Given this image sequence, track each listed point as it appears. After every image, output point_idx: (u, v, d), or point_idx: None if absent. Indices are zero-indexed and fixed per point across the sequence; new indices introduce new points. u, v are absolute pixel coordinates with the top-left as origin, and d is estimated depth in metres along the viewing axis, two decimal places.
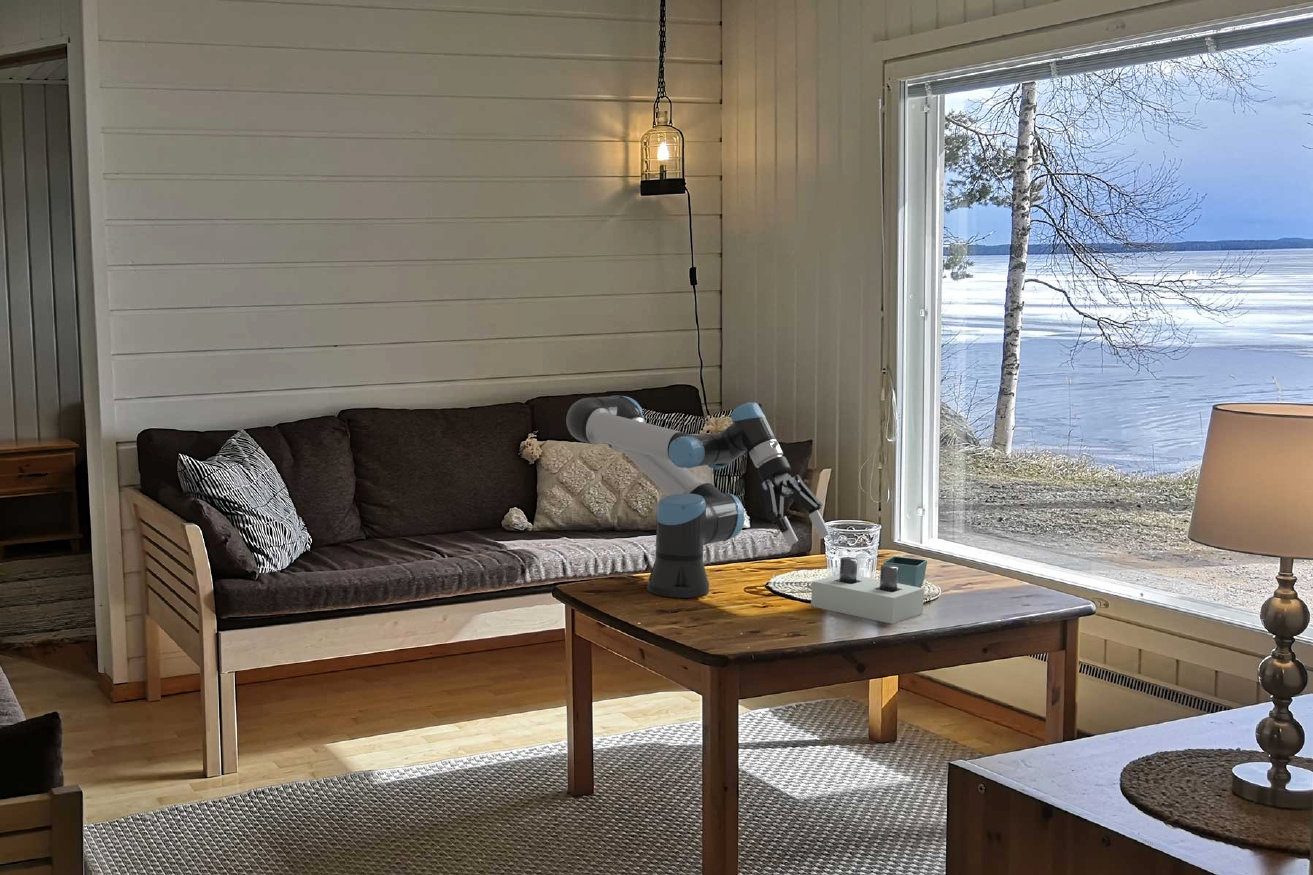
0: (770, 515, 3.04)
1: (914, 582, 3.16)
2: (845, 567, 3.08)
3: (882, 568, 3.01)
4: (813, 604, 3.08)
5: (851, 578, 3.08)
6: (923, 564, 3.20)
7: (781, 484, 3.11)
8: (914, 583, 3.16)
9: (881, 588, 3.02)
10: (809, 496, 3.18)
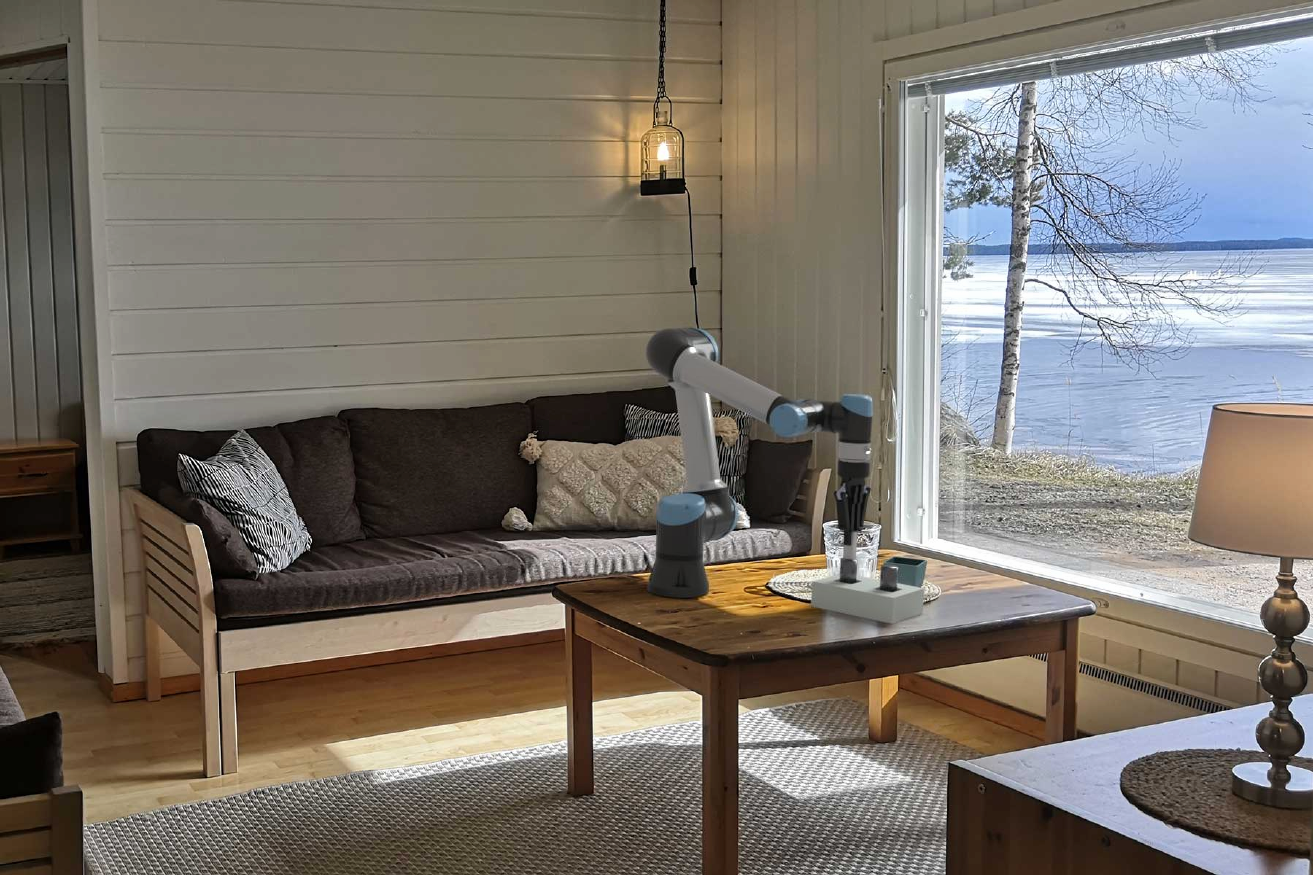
0: (842, 529, 3.06)
1: (914, 582, 3.16)
2: (845, 567, 3.08)
3: (882, 568, 3.01)
4: (813, 604, 3.08)
5: (851, 579, 3.08)
6: (923, 564, 3.20)
7: (853, 492, 3.05)
8: (914, 583, 3.16)
9: (881, 588, 3.02)
10: (861, 510, 3.10)
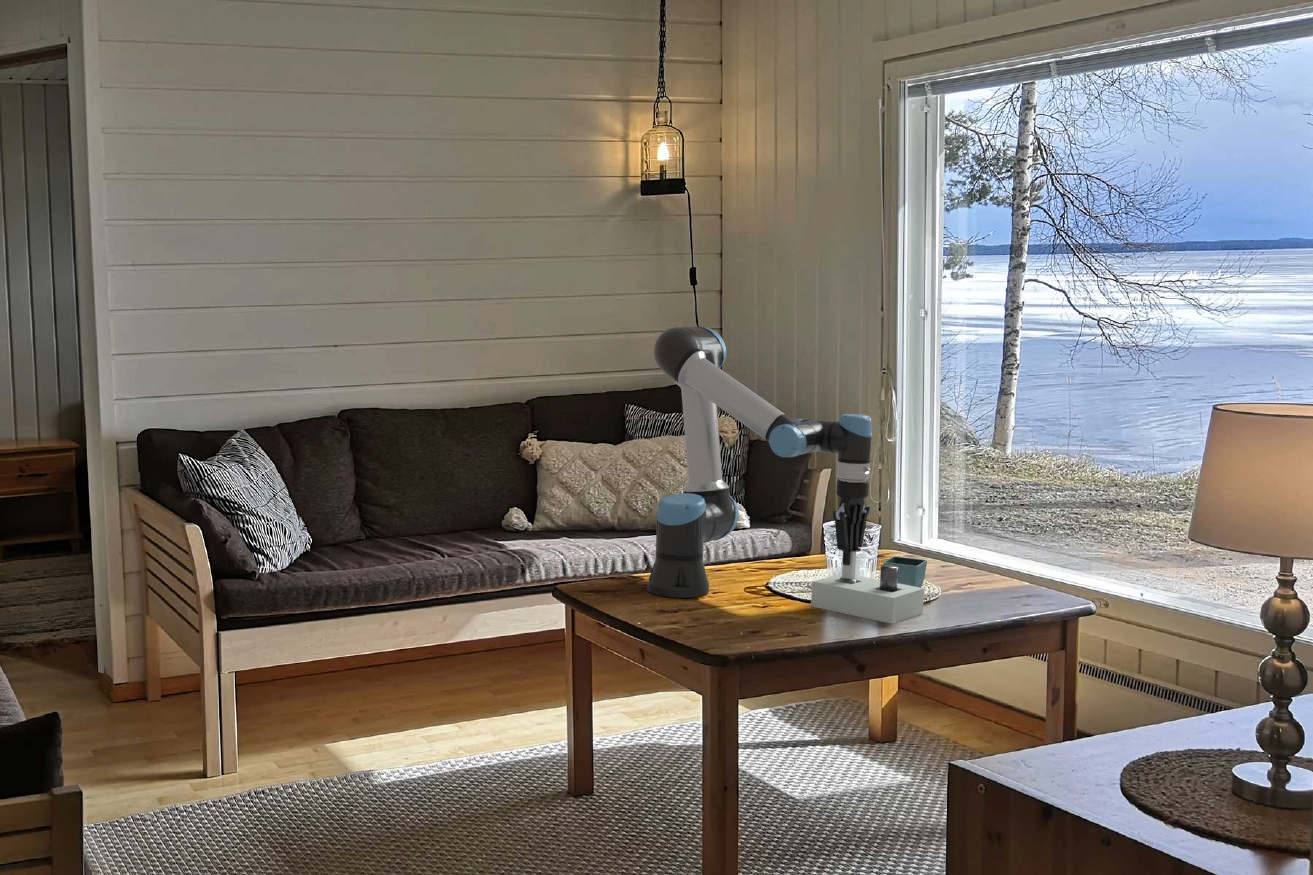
0: (841, 548, 3.06)
1: (914, 582, 3.16)
2: None
3: (882, 568, 3.01)
4: (813, 604, 3.08)
5: None
6: (923, 564, 3.20)
7: (852, 512, 3.06)
8: (914, 583, 3.16)
9: (881, 588, 3.02)
10: (860, 530, 3.11)
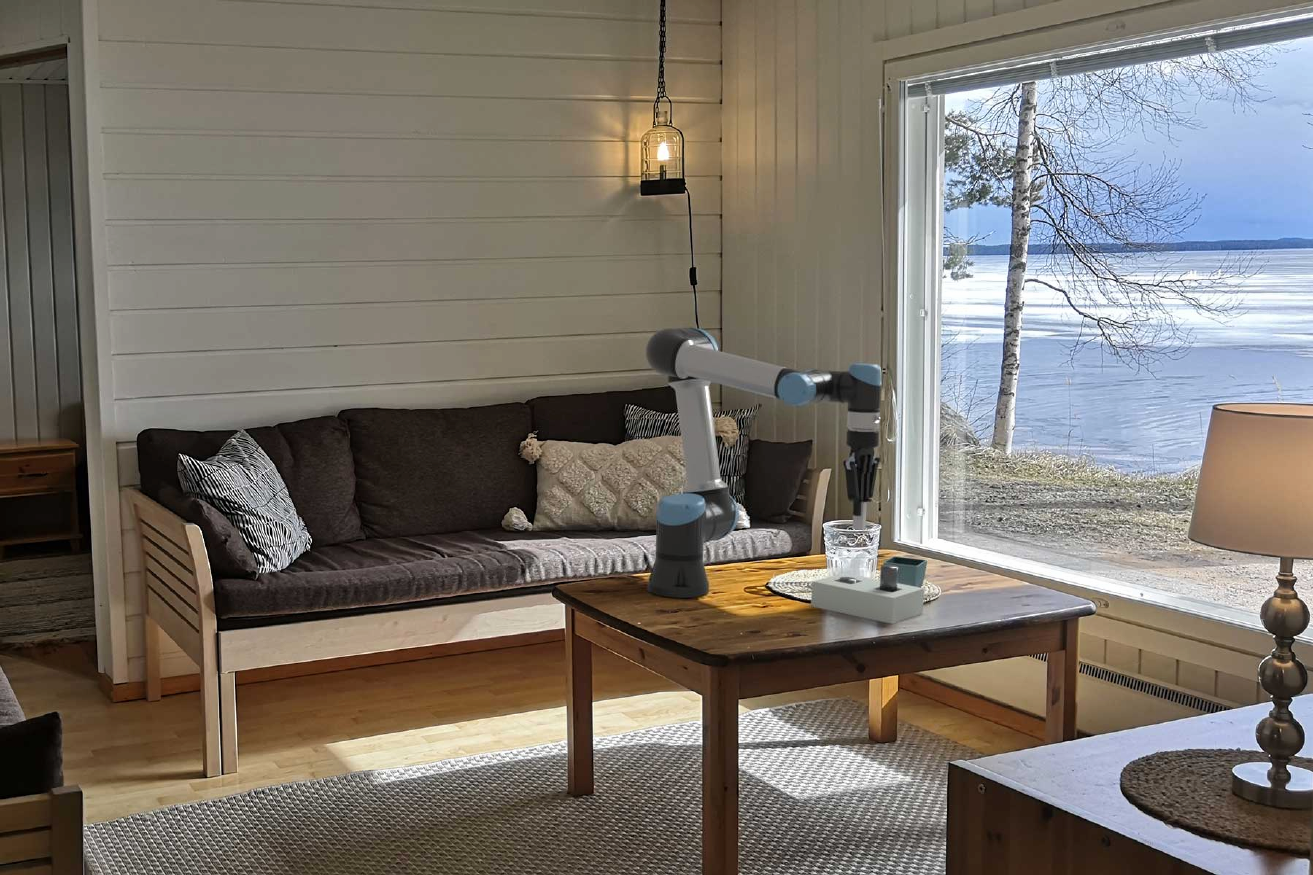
0: (852, 499, 3.03)
1: (914, 582, 3.16)
2: None
3: (882, 568, 3.01)
4: (813, 604, 3.08)
5: None
6: (923, 564, 3.20)
7: (862, 461, 3.03)
8: (914, 583, 3.16)
9: (881, 588, 3.02)
10: (870, 481, 3.08)
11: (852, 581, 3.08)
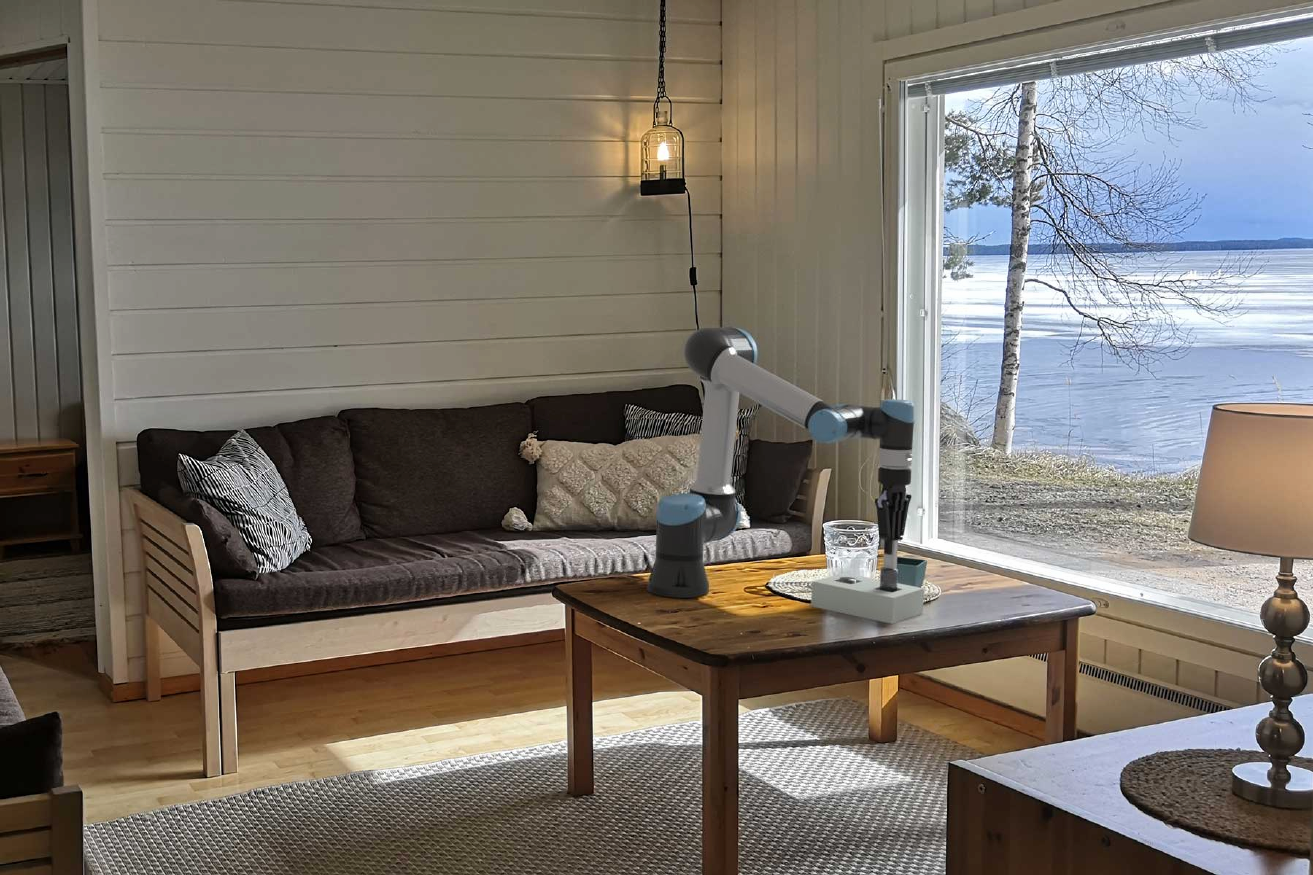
0: (883, 537, 2.99)
1: (914, 582, 3.16)
2: None
3: (882, 570, 3.01)
4: (813, 604, 3.08)
5: None
6: (923, 564, 3.20)
7: (894, 499, 2.98)
8: (914, 583, 3.16)
9: None
10: (901, 518, 3.03)
11: (852, 581, 3.08)
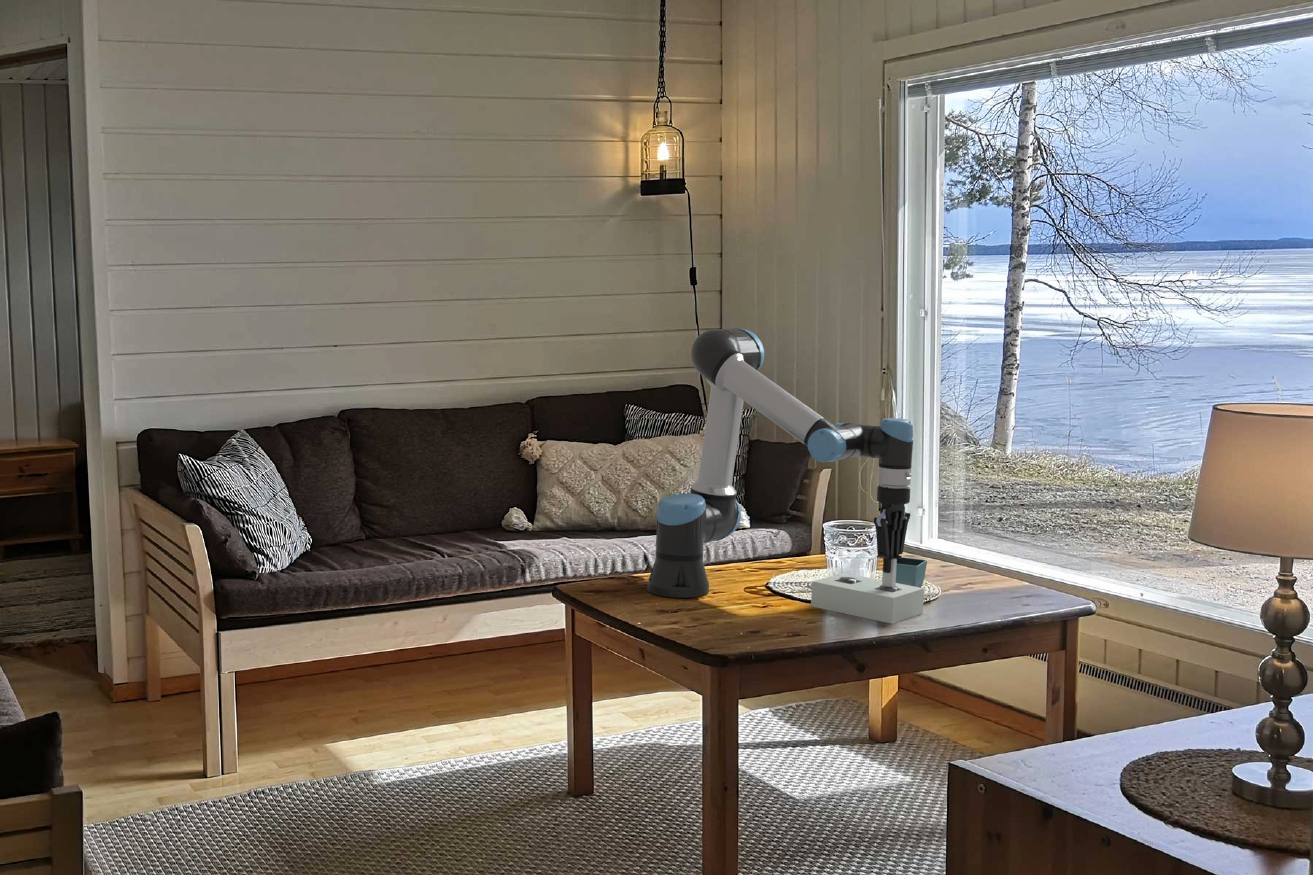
0: (882, 556, 2.99)
1: (914, 582, 3.16)
2: None
3: (881, 588, 3.02)
4: (813, 604, 3.08)
5: None
6: (923, 564, 3.20)
7: (893, 518, 2.98)
8: (914, 583, 3.16)
9: None
10: (900, 537, 3.03)
11: (852, 581, 3.08)
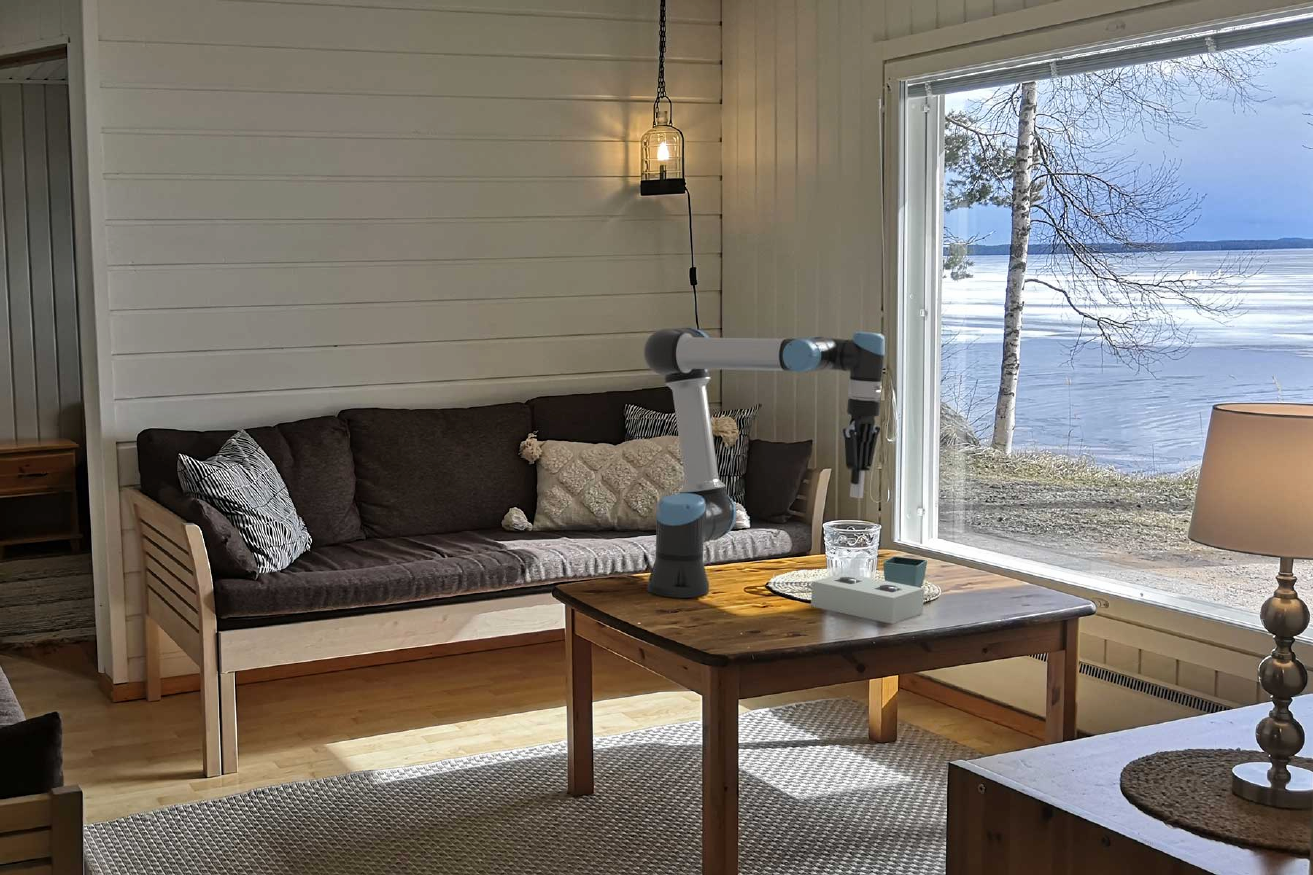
0: (850, 467, 3.05)
1: (914, 582, 3.16)
2: None
3: (881, 588, 3.02)
4: (813, 604, 3.08)
5: None
6: (923, 564, 3.20)
7: (862, 430, 3.04)
8: (914, 583, 3.16)
9: None
10: (869, 450, 3.09)
11: (852, 581, 3.08)
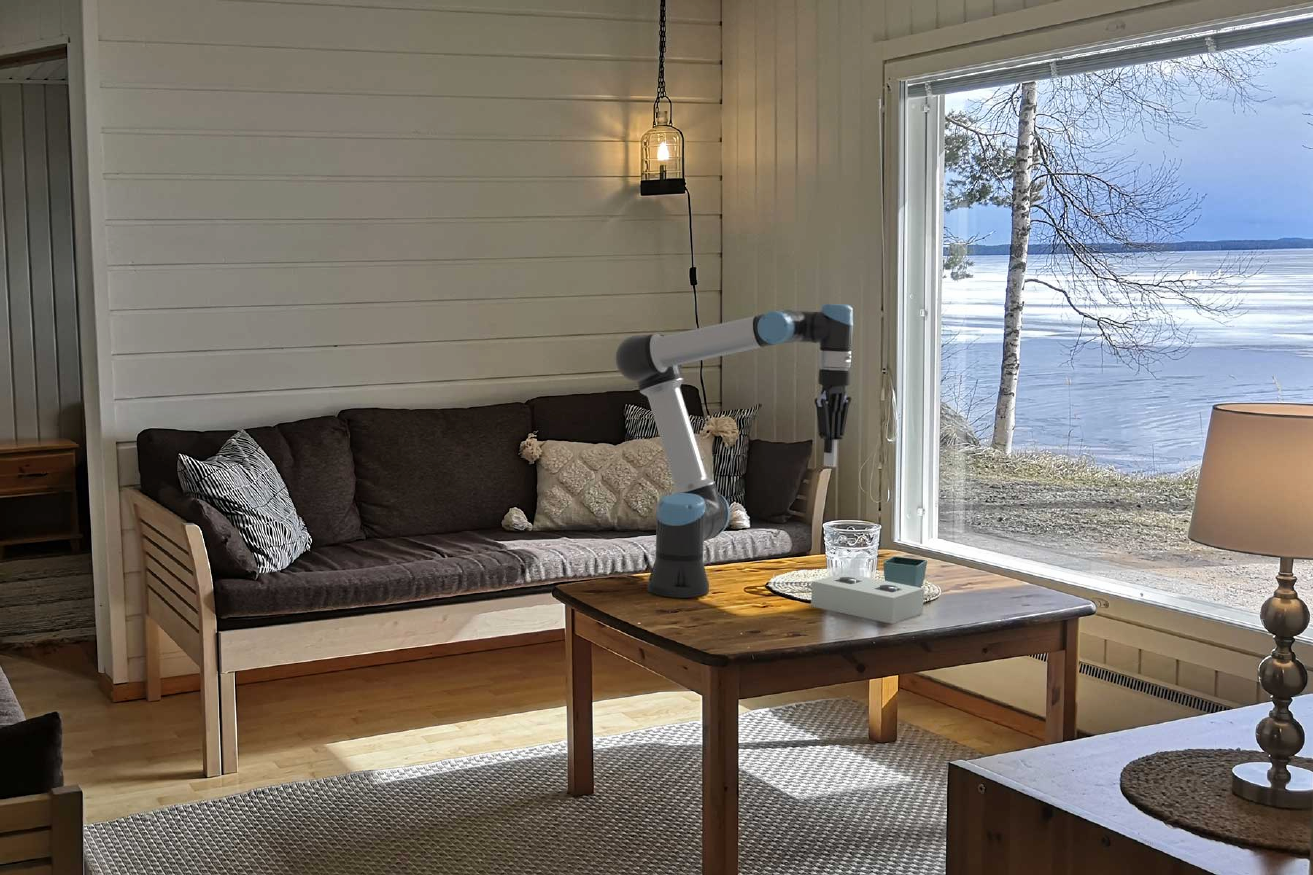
0: (823, 436, 3.11)
1: (914, 582, 3.16)
2: None
3: (881, 588, 3.02)
4: (813, 604, 3.08)
5: None
6: (923, 564, 3.20)
7: (834, 399, 3.10)
8: (914, 583, 3.16)
9: None
10: (841, 419, 3.15)
11: (852, 581, 3.08)
